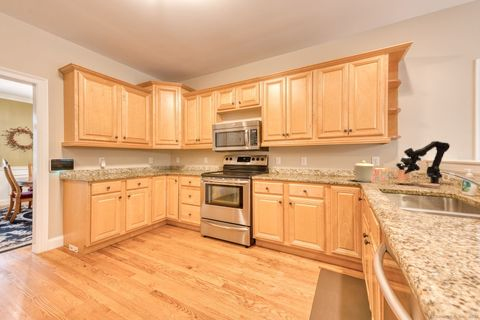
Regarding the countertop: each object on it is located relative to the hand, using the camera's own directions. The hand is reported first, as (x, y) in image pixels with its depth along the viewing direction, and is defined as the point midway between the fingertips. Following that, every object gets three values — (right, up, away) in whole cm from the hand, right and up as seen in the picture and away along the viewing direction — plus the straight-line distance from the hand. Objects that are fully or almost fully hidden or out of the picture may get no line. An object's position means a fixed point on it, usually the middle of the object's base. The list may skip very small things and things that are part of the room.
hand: (401, 173), depth 185 cm
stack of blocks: (+1, -9, +38) cm, 39 cm away
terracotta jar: (+1, -7, 0) cm, 7 cm away
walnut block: (+12, -11, -14) cm, 22 cm away
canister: (-21, -10, +22) cm, 32 cm away
